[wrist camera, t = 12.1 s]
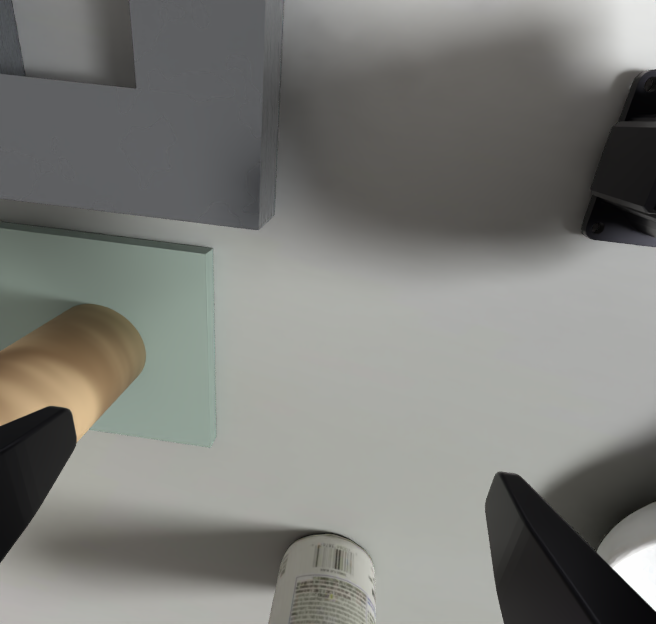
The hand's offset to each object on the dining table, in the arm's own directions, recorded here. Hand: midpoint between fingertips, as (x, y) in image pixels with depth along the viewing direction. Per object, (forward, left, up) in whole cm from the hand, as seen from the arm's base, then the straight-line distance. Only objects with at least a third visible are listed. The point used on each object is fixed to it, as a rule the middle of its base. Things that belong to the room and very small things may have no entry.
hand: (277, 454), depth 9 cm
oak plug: (+12, +6, -12) cm, 18 cm away
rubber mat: (+12, +6, -13) cm, 19 cm away
